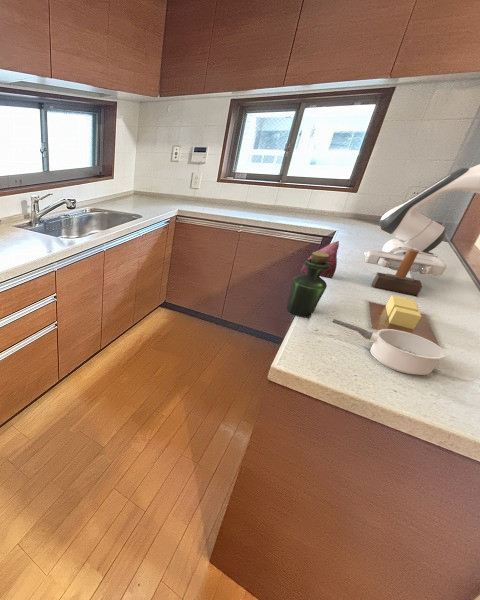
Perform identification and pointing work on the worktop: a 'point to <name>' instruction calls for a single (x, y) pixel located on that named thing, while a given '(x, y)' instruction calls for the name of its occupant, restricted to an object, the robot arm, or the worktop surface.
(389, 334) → the saucepan
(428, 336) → the cutting board
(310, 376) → the worktop surface
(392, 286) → the dark brown rectangular block
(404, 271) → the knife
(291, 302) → the potion bottle
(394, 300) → the butter block
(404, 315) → the butter slice
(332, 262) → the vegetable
